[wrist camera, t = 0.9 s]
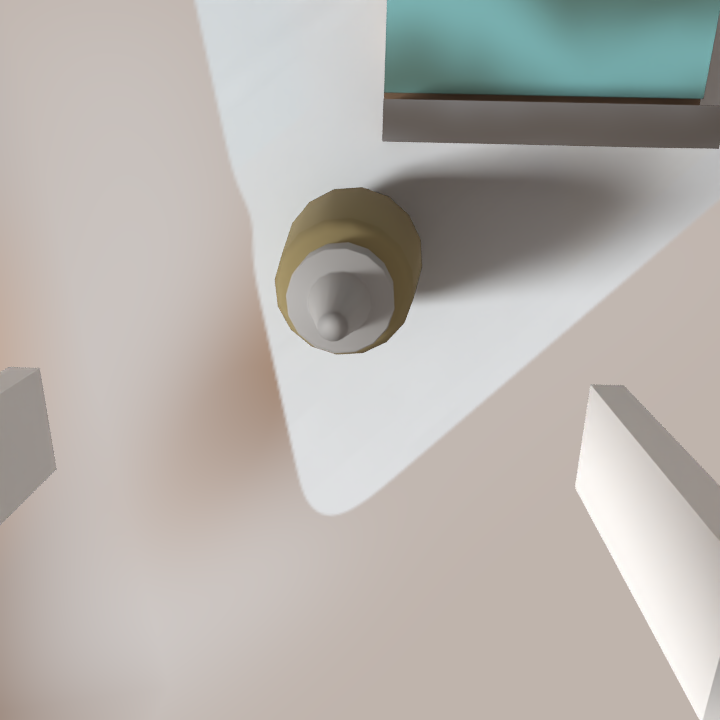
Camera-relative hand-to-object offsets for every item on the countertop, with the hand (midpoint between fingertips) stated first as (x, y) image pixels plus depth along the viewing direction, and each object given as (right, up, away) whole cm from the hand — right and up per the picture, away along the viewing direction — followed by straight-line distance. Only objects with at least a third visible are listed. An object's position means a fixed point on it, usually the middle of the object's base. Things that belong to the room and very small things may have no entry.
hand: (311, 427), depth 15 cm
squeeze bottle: (+1, +9, +25) cm, 27 cm away
